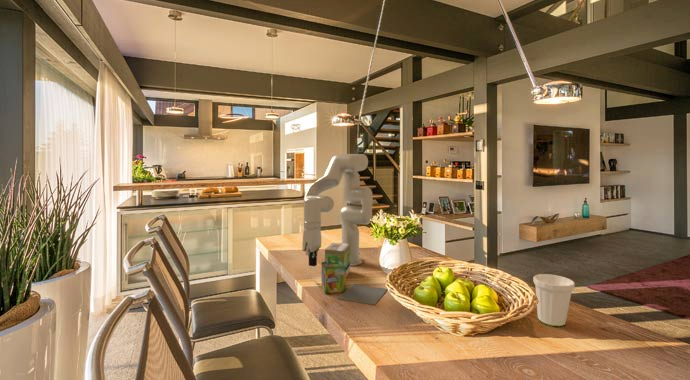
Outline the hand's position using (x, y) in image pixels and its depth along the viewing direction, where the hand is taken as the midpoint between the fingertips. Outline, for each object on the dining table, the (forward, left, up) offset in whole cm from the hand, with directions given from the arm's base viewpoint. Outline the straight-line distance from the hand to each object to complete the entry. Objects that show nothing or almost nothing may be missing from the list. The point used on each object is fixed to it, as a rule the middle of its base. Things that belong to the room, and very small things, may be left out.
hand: (312, 265), depth 158 cm
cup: (-2, +94, -10) cm, 95 cm away
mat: (0, +24, -10) cm, 26 cm away
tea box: (-18, +4, -10) cm, 21 cm away
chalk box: (0, +10, -10) cm, 14 cm away
